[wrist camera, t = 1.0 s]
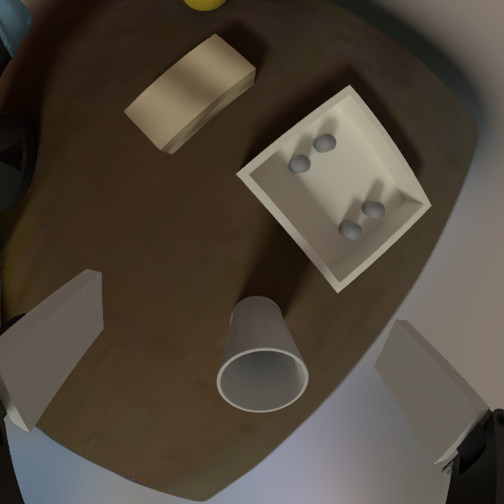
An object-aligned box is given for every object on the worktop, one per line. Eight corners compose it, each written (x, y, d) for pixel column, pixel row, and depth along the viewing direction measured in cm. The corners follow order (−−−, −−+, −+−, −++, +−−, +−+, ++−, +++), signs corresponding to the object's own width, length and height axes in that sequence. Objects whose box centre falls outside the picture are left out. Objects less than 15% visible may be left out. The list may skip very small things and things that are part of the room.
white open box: (237, 174, 29) (236, 173, 24) (334, 97, 27) (349, 84, 22) (324, 276, 32) (337, 293, 27) (408, 200, 30) (431, 205, 25)
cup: (258, 276, 32) (267, 330, 20) (301, 318, 34) (325, 380, 22) (210, 317, 33) (197, 382, 22) (254, 355, 35) (259, 422, 23)
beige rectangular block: (173, 154, 28) (160, 150, 23) (140, 120, 27) (123, 111, 22) (253, 84, 26) (256, 68, 22) (218, 53, 25) (215, 33, 20)
